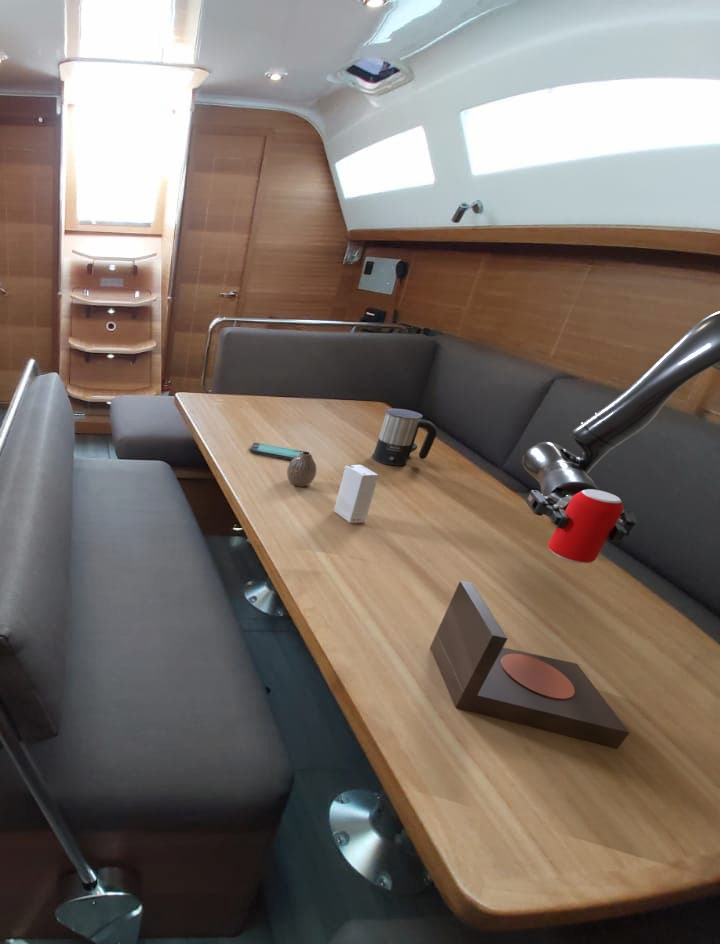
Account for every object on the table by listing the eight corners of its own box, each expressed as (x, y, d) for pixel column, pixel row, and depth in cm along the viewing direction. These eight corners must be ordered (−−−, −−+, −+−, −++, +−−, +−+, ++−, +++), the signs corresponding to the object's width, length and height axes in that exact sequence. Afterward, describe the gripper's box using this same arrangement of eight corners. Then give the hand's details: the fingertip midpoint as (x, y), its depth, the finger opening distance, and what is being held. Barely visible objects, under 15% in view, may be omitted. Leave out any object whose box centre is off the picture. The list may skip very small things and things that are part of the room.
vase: (285, 486, 130) (292, 455, 126) (284, 476, 136) (291, 446, 132) (313, 491, 128) (322, 459, 124) (311, 480, 134) (319, 450, 130)
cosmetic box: (365, 522, 114) (381, 475, 109) (348, 524, 113) (363, 476, 108) (348, 509, 119) (362, 463, 114) (331, 510, 118) (345, 464, 113)
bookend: (567, 678, 74) (611, 609, 68) (617, 748, 63) (674, 674, 58) (429, 647, 78) (459, 580, 73) (455, 707, 68) (492, 635, 62)
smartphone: (253, 441, 156) (305, 450, 150) (253, 445, 156) (304, 454, 150) (249, 449, 150) (303, 458, 144) (249, 453, 150) (302, 462, 144)
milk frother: (377, 464, 145) (392, 416, 139) (359, 445, 160) (373, 400, 153) (429, 469, 143) (448, 420, 137) (407, 449, 157) (423, 404, 151)
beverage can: (598, 561, 85) (634, 498, 80) (583, 571, 82) (620, 507, 77) (554, 543, 90) (585, 483, 84) (538, 552, 87) (570, 491, 82)
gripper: (529, 465, 96) (543, 497, 83) (631, 484, 89) (664, 523, 76) (513, 499, 99) (524, 535, 86) (611, 521, 92) (638, 564, 79)
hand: (589, 529), depth 81 cm, fingers closed on beverage can, 6 cm apart
